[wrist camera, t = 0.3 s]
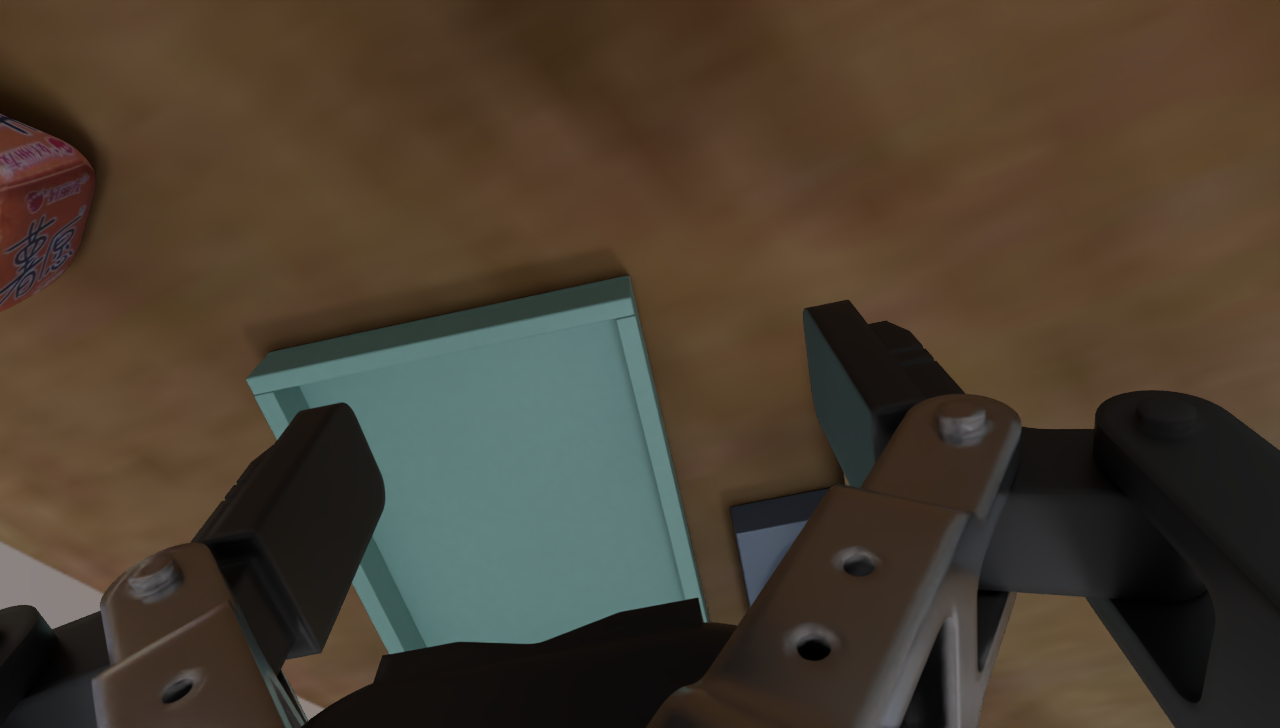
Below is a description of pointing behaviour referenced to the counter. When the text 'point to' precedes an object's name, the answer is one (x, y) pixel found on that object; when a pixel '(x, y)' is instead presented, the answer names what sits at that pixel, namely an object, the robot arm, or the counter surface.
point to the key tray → (504, 466)
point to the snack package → (39, 208)
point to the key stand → (769, 534)
